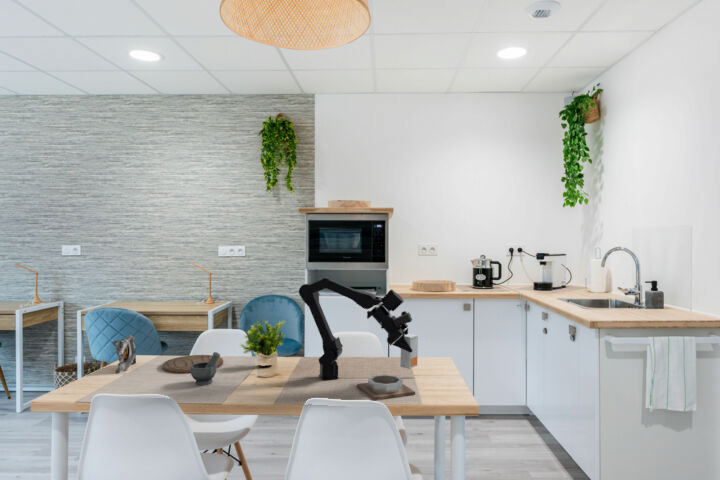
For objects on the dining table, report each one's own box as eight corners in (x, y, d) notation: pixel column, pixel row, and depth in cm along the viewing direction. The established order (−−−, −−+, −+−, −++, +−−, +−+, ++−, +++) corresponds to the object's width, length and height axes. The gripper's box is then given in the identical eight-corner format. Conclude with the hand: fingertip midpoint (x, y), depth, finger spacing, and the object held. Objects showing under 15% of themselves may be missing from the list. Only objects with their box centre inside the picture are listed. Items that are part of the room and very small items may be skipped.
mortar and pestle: (185, 386, 170) (185, 354, 170) (197, 379, 179) (197, 348, 179) (214, 387, 169) (214, 355, 169) (224, 380, 178) (224, 349, 178)
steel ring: (377, 394, 159) (377, 386, 159) (364, 385, 170) (364, 377, 170) (407, 390, 164) (407, 382, 164) (392, 381, 174) (392, 373, 174)
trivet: (215, 356, 217) (215, 352, 217) (229, 369, 195) (229, 364, 195) (158, 363, 204) (158, 359, 204) (167, 377, 182) (167, 372, 182)
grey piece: (126, 364, 201) (126, 334, 201) (136, 364, 201) (136, 334, 201) (111, 374, 186) (112, 342, 186) (122, 373, 186) (123, 341, 187)
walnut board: (374, 400, 156) (374, 397, 156) (356, 386, 171) (356, 384, 171) (415, 394, 162) (415, 391, 162) (394, 381, 177) (394, 379, 177)
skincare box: (409, 369, 171) (410, 337, 171) (400, 367, 174) (400, 335, 174) (418, 365, 176) (418, 334, 176) (408, 363, 179) (409, 333, 179)
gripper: (396, 308, 167) (426, 340, 164) (403, 302, 185) (430, 331, 182) (374, 328, 168) (403, 360, 166) (383, 320, 187) (410, 349, 184)
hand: (412, 349), depth 175 cm, fingers closed on skincare box, 7 cm apart
